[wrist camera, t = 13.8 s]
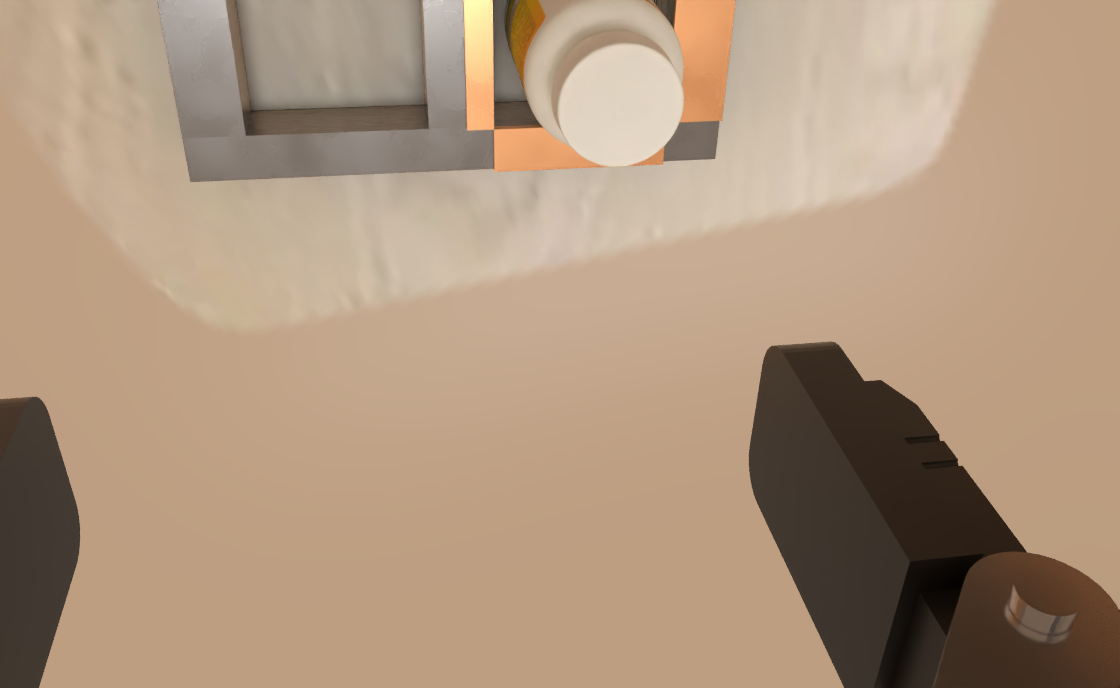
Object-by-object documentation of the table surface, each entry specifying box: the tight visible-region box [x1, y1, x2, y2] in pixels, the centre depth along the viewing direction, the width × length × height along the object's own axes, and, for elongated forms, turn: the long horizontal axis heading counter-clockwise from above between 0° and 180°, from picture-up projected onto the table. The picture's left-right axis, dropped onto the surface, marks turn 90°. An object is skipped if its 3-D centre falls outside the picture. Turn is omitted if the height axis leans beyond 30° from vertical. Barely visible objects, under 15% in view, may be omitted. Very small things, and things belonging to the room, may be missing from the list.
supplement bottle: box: [505, 0, 684, 167], centre depth 36 cm, size 5×5×10 cm
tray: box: [157, 0, 736, 182], centre depth 38 cm, size 10×20×3 cm, turn 89°
